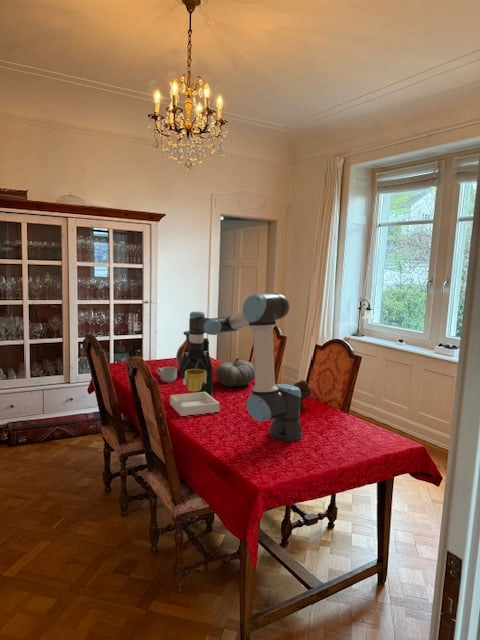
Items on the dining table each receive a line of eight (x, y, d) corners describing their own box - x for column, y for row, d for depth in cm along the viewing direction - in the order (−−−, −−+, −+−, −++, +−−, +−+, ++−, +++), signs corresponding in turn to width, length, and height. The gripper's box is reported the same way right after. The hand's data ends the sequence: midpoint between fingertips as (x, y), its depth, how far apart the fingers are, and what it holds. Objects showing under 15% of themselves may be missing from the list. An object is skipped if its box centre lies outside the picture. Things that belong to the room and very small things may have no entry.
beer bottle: (201, 398, 248) (203, 340, 243) (190, 393, 255) (192, 337, 251) (216, 395, 255) (218, 339, 250) (205, 390, 262) (207, 336, 258)
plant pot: (187, 393, 224) (188, 374, 222) (182, 387, 233) (182, 369, 232) (207, 391, 228) (207, 373, 226) (200, 386, 237) (201, 368, 236)
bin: (219, 412, 227) (219, 403, 226) (182, 417, 218) (182, 407, 218) (205, 400, 245) (205, 391, 244) (170, 404, 236) (170, 395, 235)
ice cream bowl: (314, 406, 242) (316, 380, 240) (302, 411, 234) (304, 383, 232) (298, 401, 250) (300, 376, 247) (286, 406, 241) (288, 379, 239)
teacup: (180, 380, 281) (180, 368, 280) (168, 384, 272) (169, 372, 271) (163, 377, 288) (164, 365, 287) (152, 380, 279) (152, 368, 278)
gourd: (264, 383, 274) (260, 356, 272) (231, 395, 261) (226, 366, 259) (242, 377, 295) (238, 352, 293) (210, 388, 282) (206, 362, 279)
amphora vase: (180, 367, 314) (181, 328, 310) (210, 369, 311) (211, 330, 307) (171, 375, 293) (172, 333, 289) (203, 377, 290) (205, 335, 286)
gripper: (214, 339, 235) (212, 379, 238) (172, 341, 225) (171, 383, 228) (219, 342, 228) (217, 383, 232) (176, 344, 218) (175, 387, 221)
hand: (194, 383), depth 230 cm, fingers closed on plant pot, 10 cm apart
